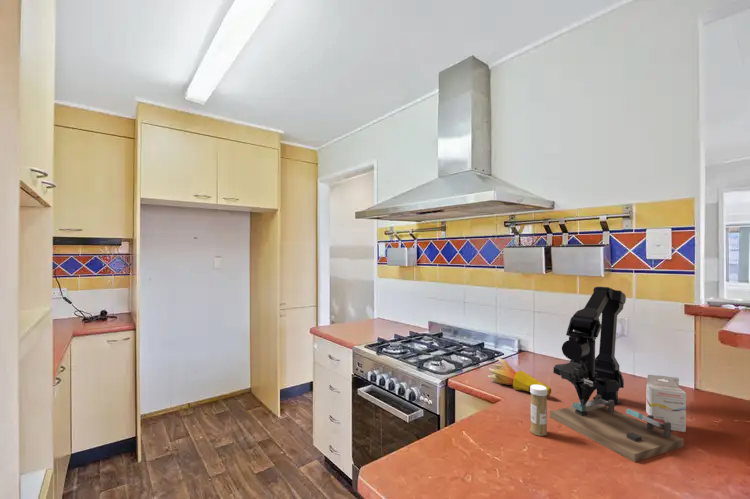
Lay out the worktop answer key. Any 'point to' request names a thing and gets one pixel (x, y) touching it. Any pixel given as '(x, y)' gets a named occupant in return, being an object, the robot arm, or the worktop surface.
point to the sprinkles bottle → (538, 410)
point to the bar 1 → (591, 405)
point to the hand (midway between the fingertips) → (583, 404)
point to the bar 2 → (645, 418)
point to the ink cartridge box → (666, 401)
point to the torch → (514, 377)
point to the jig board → (619, 431)
